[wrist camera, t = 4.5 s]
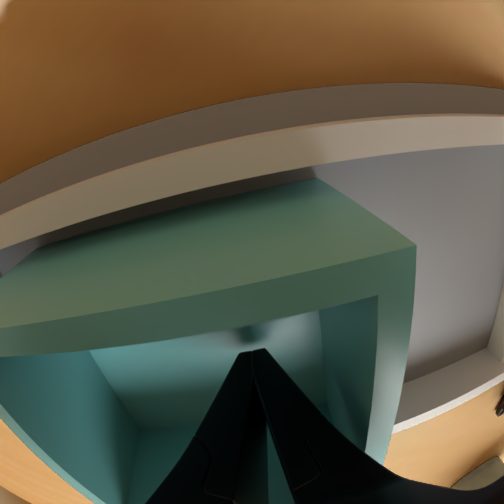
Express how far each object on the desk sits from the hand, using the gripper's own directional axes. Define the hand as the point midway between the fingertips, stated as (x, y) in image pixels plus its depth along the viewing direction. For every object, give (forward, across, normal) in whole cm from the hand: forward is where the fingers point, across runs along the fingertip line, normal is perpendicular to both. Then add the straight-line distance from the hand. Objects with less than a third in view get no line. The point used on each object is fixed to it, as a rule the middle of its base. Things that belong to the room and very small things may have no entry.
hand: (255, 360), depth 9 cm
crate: (+1, +2, 0) cm, 2 cm away
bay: (+2, -1, 0) cm, 3 cm away
